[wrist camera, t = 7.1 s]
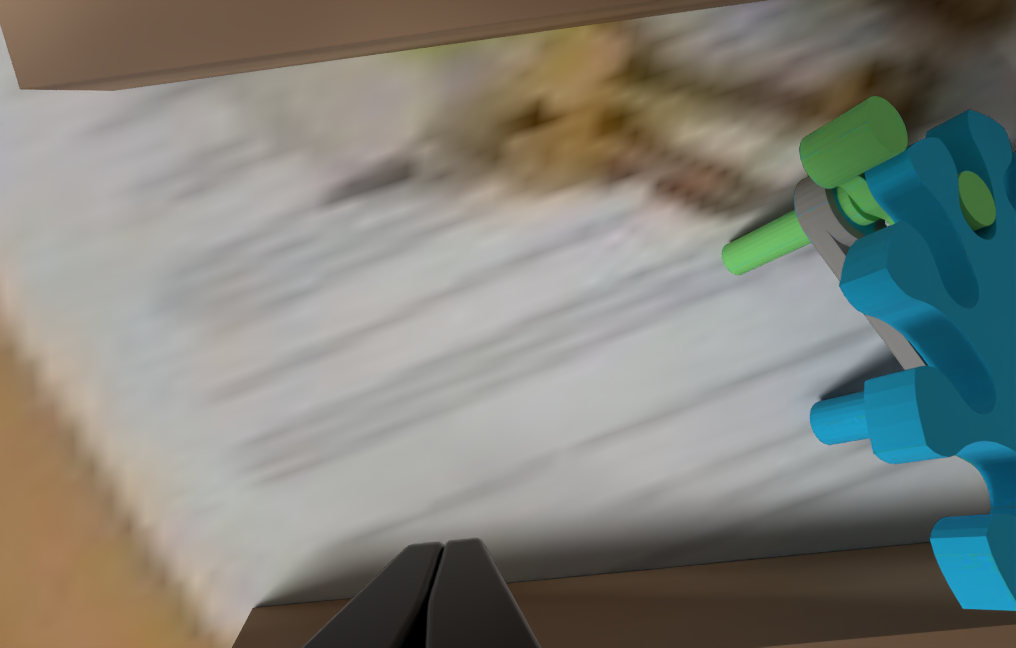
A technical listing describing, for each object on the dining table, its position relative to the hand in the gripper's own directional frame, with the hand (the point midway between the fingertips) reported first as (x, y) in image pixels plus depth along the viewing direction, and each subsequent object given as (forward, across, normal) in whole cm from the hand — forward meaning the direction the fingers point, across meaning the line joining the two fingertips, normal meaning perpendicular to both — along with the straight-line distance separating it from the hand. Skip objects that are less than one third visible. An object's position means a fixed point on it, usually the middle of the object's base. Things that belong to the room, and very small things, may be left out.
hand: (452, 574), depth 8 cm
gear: (+9, -10, 0) cm, 14 cm away
